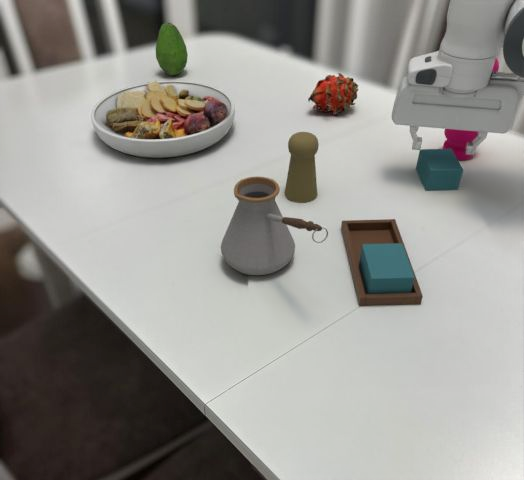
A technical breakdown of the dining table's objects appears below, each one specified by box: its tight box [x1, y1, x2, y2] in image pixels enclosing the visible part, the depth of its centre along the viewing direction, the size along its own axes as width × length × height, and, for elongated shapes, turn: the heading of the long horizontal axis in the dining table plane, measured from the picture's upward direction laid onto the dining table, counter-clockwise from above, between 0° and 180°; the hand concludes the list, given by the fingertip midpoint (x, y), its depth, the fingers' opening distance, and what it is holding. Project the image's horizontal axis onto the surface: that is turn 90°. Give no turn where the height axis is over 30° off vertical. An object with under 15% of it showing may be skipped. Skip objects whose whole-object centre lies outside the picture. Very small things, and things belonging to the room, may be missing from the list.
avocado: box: [155, 21, 189, 76], centre depth 133 cm, size 8×8×12 cm
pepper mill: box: [442, 57, 500, 161], centre depth 100 cm, size 7×7×20 cm
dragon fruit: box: [307, 72, 359, 116], centre depth 118 cm, size 8×8×12 cm
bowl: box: [90, 80, 236, 159], centre depth 112 cm, size 30×30×8 cm
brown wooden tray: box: [340, 218, 423, 307], centre depth 81 cm, size 9×19×2 cm, turn 2°
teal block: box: [359, 243, 415, 294], centre depth 77 cm, size 6×8×4 cm
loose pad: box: [415, 148, 464, 191], centre depth 99 cm, size 6×8×4 cm
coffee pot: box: [220, 175, 329, 276], centre depth 75 cm, size 21×12×15 cm, turn 31°
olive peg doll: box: [284, 131, 319, 204], centre depth 93 cm, size 6×6×11 cm
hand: (442, 150), depth 96 cm, fingers open, 8 cm apart
